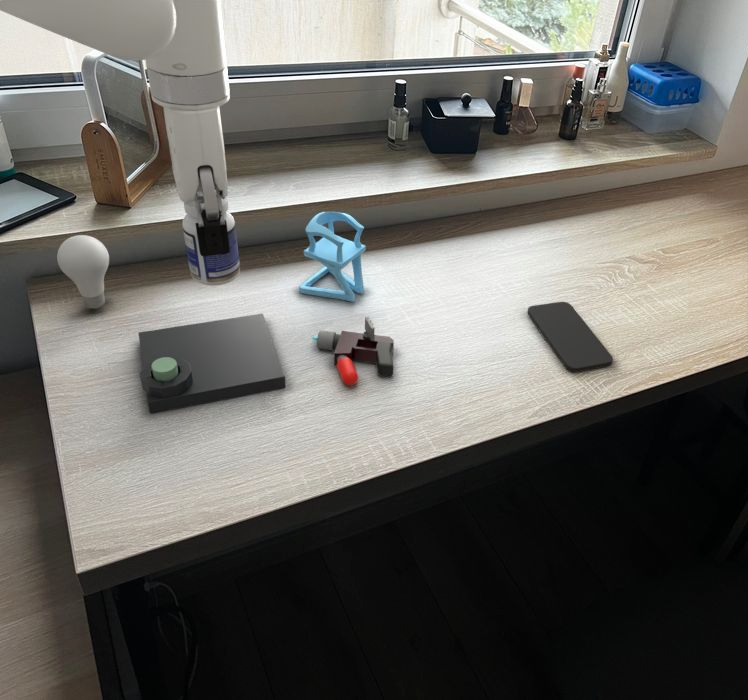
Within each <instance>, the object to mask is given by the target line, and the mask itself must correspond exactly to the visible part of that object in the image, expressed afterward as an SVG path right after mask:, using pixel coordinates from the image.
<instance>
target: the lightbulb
mask: <svg viewBox="0 0 748 700" xmlns="http://www.w3.org/2000/svg"><path fill="white" fill-rule="evenodd" d="M56 254H57V255H56V260H57V264H58V267H59V268H60V270H61V271H62V273H63V274H64V275H66V277H68V278H69V279H70V280H71V281H72V282H73V283H74V284H75V286H76V288H77V289H78V292H79V294H80V295H81V296H82V299H83V301H84V304H85V306H86V308H89V309H95V310H96V309H99V308H101V307H102V306H104V305H105V303H106V297H105V280H104V279H105V275H106V272H107V271H108V268H109V265H110V255H109V251H108V249H107V247H106V246H105V245H104V243H103V242H101V241H100V240H99V239H98V238H95V237H93V236H90V235H85V234H78V235H73V236H70V237H68V238H66V240H64V241H63V242H62V243H61V244H60V245H59V248H58V250H57V253H56Z"/></svg>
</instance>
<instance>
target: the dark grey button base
mask: <svg viewBox="0 0 748 700" xmlns="http://www.w3.org/2000/svg"><path fill="white" fill-rule="evenodd" d="M138 339H139V340H138V341H139V347H140V355H141V363H142V368H141V370H140V371H139V378H140V380H139V381H140V383H141V388H142V391H143V392H145V393H146V400H147V406H148V408H149V413H150V415H151V414H156V413H161V412H168V411H173V410H177V409H182V408H188V407H192V406H197V405H203V404H207V403H213V402H218V401H224V400H228V399H229V400H230V399H234V398H239V397H245V396H249V395H254V394H260V393H264V392H265V393H266V392H271V391H276V390H281V389H286V387H287V386H286V376H285V372H284V369H283V368H282V363H281V361H280V358H279V356H278V353H277V350H276V348H275V347H276V346H275V344H274V342H273V341H274V340H273V339H272V336H271V332H270V330H269V327H268V324H267V321H266V318H265V316H264V313H257V314H251V315H244V316H237V317H231V318H224V319H218V320H211V321H205V322H198V323H191V324H186V325H185V324H184V325H178V326H173V327H167V328H166V327H165V328H159V329H152V330H145V331H140V332H139V331H138ZM163 357H170V358H173V359H174V360H175V361H176V362H177V367H178V375H177V377H176V378H174V379H172V380H169V381H157V380H156V379H155V378H154V376H153V371H152V363H153V362H154V361H155V360H157V359H159V358H163Z"/></svg>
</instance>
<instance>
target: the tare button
mask: <svg viewBox="0 0 748 700" xmlns="http://www.w3.org/2000/svg"><path fill="white" fill-rule="evenodd" d="M152 371H153V376H154V378H155V379H156V380H157V381H169V380H172V379H174V378H176V377H177V375H178V367H177V362H176V361H175V360H174V359H173V358H170V357H163V358H159V359H157V360H155V361H154V362H153V363H152Z"/></svg>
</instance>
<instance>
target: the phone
mask: <svg viewBox="0 0 748 700" xmlns="http://www.w3.org/2000/svg"><path fill="white" fill-rule="evenodd" d="M526 312H527V313H526V314H527V315H528V317H529V318H530V320H531V321H532V323H533V324H534V326H535V327H536V329H538V331H539V333H540V334H541V335H542V336H543V339H545V341H546V342H547V344H548V346H550V348H551V349H552V351H553V352H554V353H555V355H556V356H557V358H558V359H559V360H560V362H561V363H562V365H563V366H564V367H565V368H566V369H567V370H568V371H569V372H574V373H577V372H583V371H589V370H594V369H599V368H605V367H610V366H611V365H612V364H613V361H614V358H613V356H612V354H611V353H610V352H609V351H608V349H607V347H605V346H604V344H603V343H602V342H601V341H600V339H599V338H598V337H597V335H596V334H595V333H594V332H593V331H592V329H591V328H590V327H589V325H588V324H587V322H585V321H584V319H583V318H582V317H581V315H580V314H579V313H578V312H577V310H575V308H574V307H573V306H572V304H571V303H569V302H566V301H557V302H556V301H555V302H550V303H542V304H535V305H530V306H529V307H528V308H527V311H526Z"/></svg>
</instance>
